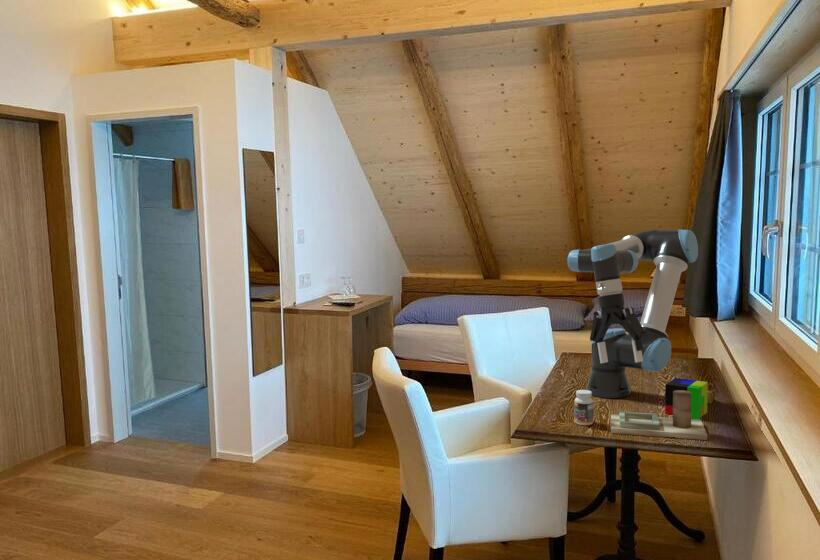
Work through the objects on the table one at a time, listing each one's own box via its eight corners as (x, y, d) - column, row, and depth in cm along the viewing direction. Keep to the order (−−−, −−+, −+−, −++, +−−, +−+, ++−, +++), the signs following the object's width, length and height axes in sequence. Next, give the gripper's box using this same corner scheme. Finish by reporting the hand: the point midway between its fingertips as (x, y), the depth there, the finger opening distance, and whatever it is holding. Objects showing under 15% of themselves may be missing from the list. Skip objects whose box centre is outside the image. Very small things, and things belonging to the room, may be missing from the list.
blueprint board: (610, 418, 202) (611, 383, 201) (700, 424, 194) (701, 387, 193) (610, 433, 189) (610, 394, 188) (707, 440, 181) (707, 400, 180)
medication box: (687, 394, 228) (687, 383, 227) (694, 394, 228) (694, 383, 228) (705, 404, 216) (705, 392, 215) (713, 403, 216) (713, 392, 216)
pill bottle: (570, 423, 199) (570, 391, 198) (580, 418, 203) (580, 388, 202) (587, 427, 195) (587, 395, 194) (596, 422, 199) (596, 391, 198)
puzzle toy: (675, 407, 213) (675, 377, 212) (707, 412, 206) (707, 382, 205) (665, 414, 205) (665, 384, 204) (698, 420, 199) (698, 388, 198)
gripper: (572, 299, 208) (582, 364, 206) (634, 290, 186) (646, 363, 185) (588, 297, 212) (598, 361, 210) (651, 288, 190) (663, 359, 189)
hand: (621, 362), depth 198 cm, fingers open, 13 cm apart
